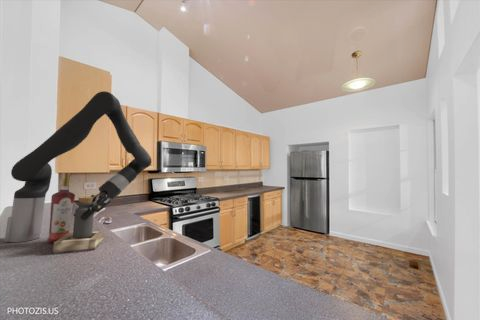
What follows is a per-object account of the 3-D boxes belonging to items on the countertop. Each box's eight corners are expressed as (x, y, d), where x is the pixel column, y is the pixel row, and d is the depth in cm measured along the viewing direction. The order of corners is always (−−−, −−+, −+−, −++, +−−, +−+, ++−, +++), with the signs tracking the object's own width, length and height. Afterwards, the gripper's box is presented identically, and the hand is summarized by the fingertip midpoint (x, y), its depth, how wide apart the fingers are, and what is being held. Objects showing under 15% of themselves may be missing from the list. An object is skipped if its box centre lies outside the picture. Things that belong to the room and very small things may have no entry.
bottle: (95, 235, 77) (98, 197, 79) (79, 239, 72) (83, 198, 73) (85, 233, 79) (88, 196, 81) (68, 237, 74) (72, 197, 75)
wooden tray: (52, 253, 67) (54, 242, 67) (67, 243, 78) (68, 233, 78) (94, 249, 72) (95, 239, 72) (102, 240, 83) (103, 231, 83)
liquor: (48, 246, 74) (57, 172, 77) (43, 242, 78) (52, 172, 81) (72, 241, 80) (80, 173, 83) (66, 238, 84) (74, 173, 87)
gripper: (101, 179, 88) (63, 210, 77) (116, 180, 80) (77, 214, 69) (112, 191, 92) (79, 221, 80) (128, 192, 84) (93, 226, 73)
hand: (78, 217), depth 75 cm, fingers closed on bottle, 6 cm apart
